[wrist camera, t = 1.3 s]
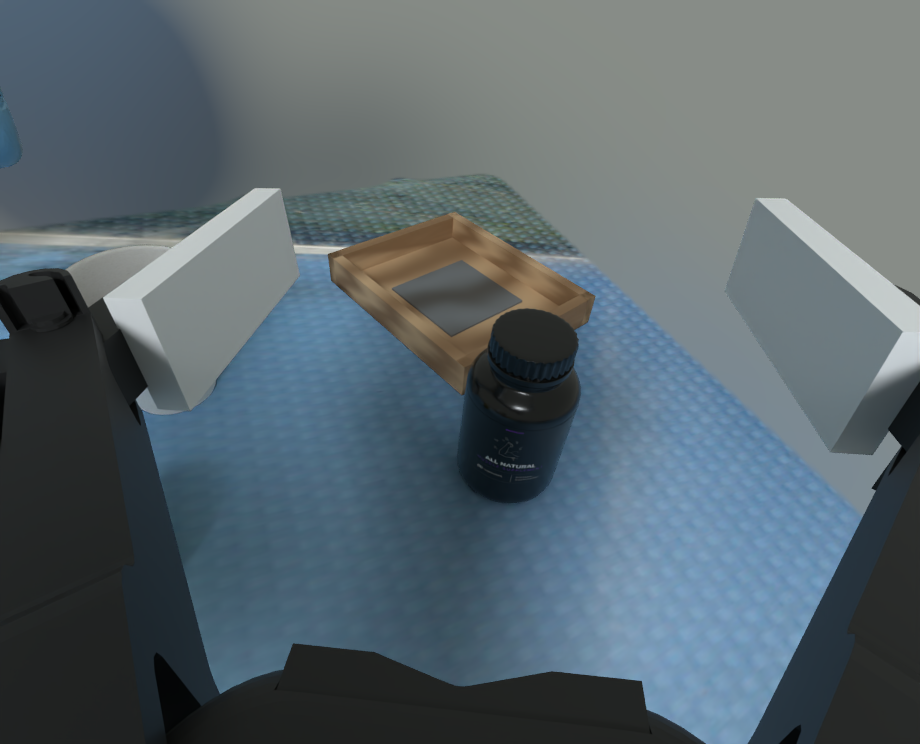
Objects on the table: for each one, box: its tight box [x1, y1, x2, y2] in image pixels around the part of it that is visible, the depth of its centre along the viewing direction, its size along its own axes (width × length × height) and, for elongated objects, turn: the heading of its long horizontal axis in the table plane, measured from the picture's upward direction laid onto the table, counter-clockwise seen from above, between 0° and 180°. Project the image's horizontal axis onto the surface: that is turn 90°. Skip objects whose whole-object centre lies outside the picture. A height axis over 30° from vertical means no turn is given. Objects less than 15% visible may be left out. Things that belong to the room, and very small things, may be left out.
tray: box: [328, 212, 595, 395], centre depth 49 cm, size 20×16×3 cm
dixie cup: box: [66, 245, 216, 415], centre depth 36 cm, size 8×8×10 cm
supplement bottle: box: [457, 308, 581, 503], centre depth 32 cm, size 7×7×12 cm
